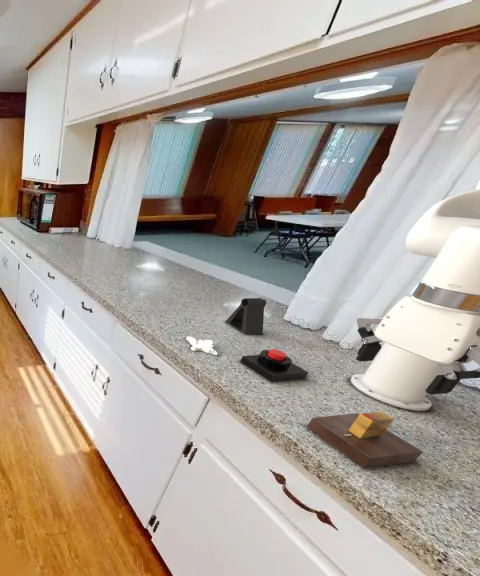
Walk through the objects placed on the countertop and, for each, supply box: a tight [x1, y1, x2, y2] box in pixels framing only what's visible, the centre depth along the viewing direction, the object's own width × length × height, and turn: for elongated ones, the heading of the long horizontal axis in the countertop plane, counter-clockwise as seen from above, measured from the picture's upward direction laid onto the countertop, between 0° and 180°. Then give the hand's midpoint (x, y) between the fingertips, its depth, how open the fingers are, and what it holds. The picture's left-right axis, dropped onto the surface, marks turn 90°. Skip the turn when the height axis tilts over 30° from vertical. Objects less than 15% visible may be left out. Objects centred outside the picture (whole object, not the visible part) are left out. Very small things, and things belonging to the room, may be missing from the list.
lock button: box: [268, 348, 288, 361], centre depth 86 cm, size 4×4×2 cm
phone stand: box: [225, 297, 267, 335], centre depth 106 cm, size 9×6×12 cm, turn 178°
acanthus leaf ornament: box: [186, 336, 219, 356], centre depth 97 cm, size 8×7×2 cm
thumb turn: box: [348, 411, 395, 438], centre depth 62 cm, size 5×2×5 cm, turn 96°
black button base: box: [240, 349, 309, 382], centre depth 86 cm, size 11×9×4 cm
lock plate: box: [306, 412, 424, 469], centre depth 64 cm, size 12×10×3 cm
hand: (396, 375), depth 58 cm, fingers open, 9 cm apart
